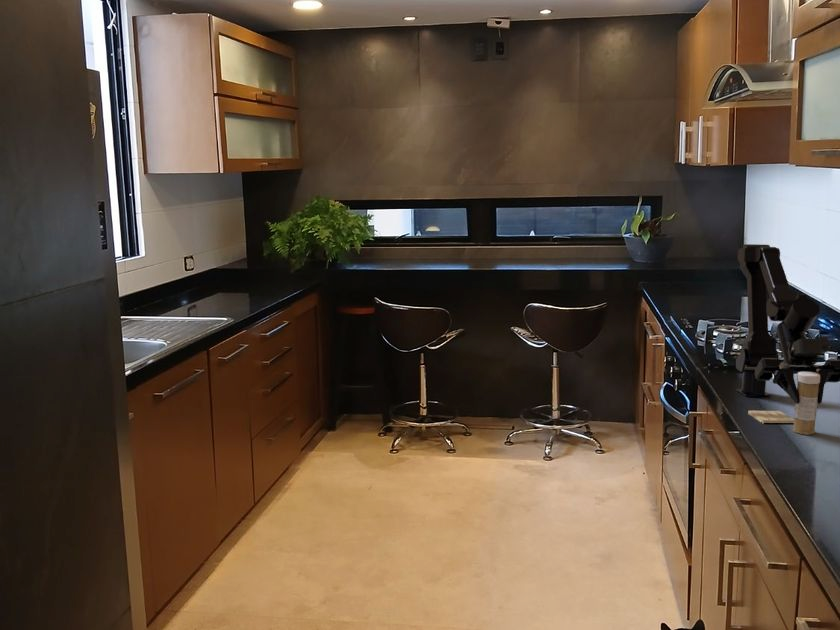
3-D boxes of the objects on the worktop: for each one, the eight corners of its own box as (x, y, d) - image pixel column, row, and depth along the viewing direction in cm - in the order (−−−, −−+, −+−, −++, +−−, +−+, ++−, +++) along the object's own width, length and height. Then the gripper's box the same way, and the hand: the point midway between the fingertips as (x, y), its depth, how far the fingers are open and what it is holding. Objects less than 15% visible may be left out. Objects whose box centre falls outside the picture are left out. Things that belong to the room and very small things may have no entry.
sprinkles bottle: (796, 428, 188) (801, 369, 186) (818, 432, 185) (823, 373, 182) (789, 432, 184) (794, 373, 182) (810, 436, 181) (816, 376, 179)
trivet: (748, 413, 199) (748, 410, 199) (779, 413, 199) (779, 410, 199) (763, 423, 191) (763, 419, 191) (795, 423, 191) (795, 419, 191)
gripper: (763, 322, 185) (777, 382, 176) (849, 324, 184) (868, 385, 175) (748, 349, 194) (761, 408, 185) (830, 351, 193) (847, 411, 184)
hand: (809, 403), depth 182 cm, fingers closed on sprinkles bottle, 4 cm apart
